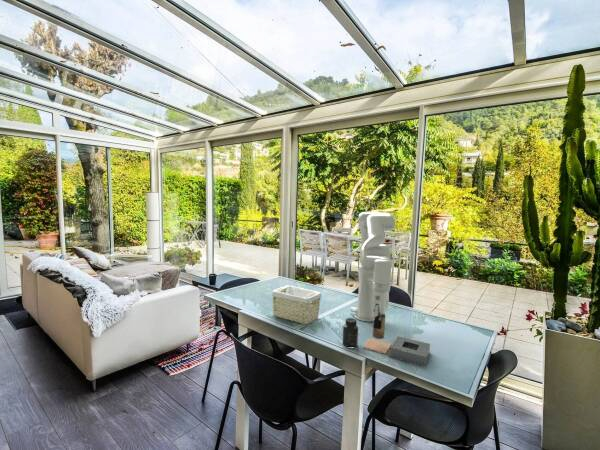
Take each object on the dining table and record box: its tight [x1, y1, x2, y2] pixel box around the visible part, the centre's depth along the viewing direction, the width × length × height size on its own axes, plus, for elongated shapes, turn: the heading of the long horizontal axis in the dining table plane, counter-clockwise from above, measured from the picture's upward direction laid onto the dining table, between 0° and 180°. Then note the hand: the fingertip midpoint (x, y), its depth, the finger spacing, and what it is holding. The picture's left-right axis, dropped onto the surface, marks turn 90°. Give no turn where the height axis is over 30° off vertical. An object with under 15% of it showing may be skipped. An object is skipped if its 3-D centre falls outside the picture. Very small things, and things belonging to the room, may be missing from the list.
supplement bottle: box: [341, 317, 359, 348], centre depth 140 cm, size 7×7×12 cm
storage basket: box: [271, 284, 322, 325], centre depth 172 cm, size 24×16×15 cm
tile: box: [362, 338, 392, 355], centre depth 140 cm, size 10×10×1 cm
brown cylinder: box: [372, 314, 386, 340], centre depth 139 cm, size 5×5×10 cm
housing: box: [389, 335, 431, 367], centre depth 134 cm, size 14×14×4 cm
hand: (378, 325), depth 139 cm, fingers closed on brown cylinder, 5 cm apart
